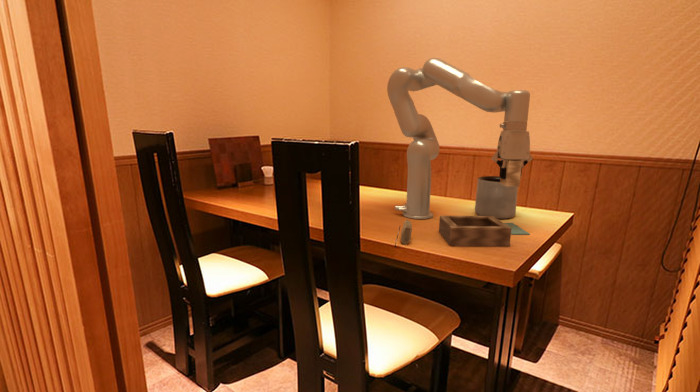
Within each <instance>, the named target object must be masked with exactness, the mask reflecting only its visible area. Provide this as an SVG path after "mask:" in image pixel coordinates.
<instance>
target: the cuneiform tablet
mask: <svg viewBox="0 0 700 392" xmlns="http://www.w3.org/2000/svg"><path fill="white" fill-rule="evenodd" d="M412 227H413V225H412V222H411V221H410V220H408V219H406V220H405V221H404V222H403V224H402V228H401V226H399V228H398V232H397V235H396V240H395V244H394V247H396V246H397V241H398V238H399V232H400V230H401V232H400V242H401V244H402V245H408V244H409V243H410V240H411V237H412V231H413V228H412Z"/></svg>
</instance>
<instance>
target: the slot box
mask: <svg viewBox="0 0 700 392" xmlns="http://www.w3.org/2000/svg"><path fill="white" fill-rule="evenodd" d="M504 223H505V222H503V221H502V220H501V219H497V218H496V217H494V216H480V215H443V214H442V215H439V223H438V233H439V234H440V236H441V237H442V238H443V239H444V240H445V242H446V243H447V244H448V246H450V247H485V248H486V247H487V248H488V247H495V248H496V247H498V248H499V247H500V248H501V247H502V248H503V247H505V248H507V247H508V248H509V247H510V245H511V237H512V236H511V229H512V228H510V227H509V226H507V225H506V224H504Z"/></svg>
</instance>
